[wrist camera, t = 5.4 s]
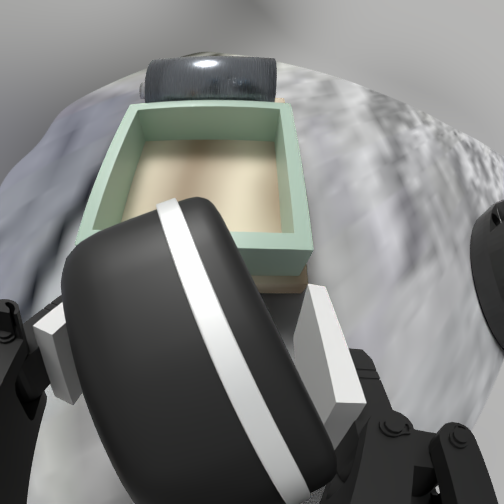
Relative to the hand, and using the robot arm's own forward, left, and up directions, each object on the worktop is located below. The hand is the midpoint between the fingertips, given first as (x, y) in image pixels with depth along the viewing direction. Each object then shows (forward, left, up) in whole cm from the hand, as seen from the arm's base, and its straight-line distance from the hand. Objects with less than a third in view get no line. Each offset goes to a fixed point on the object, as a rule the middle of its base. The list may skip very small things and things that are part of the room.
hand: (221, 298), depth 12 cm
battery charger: (+1, +3, -4) cm, 5 cm away
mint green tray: (+2, -10, -4) cm, 11 cm away
